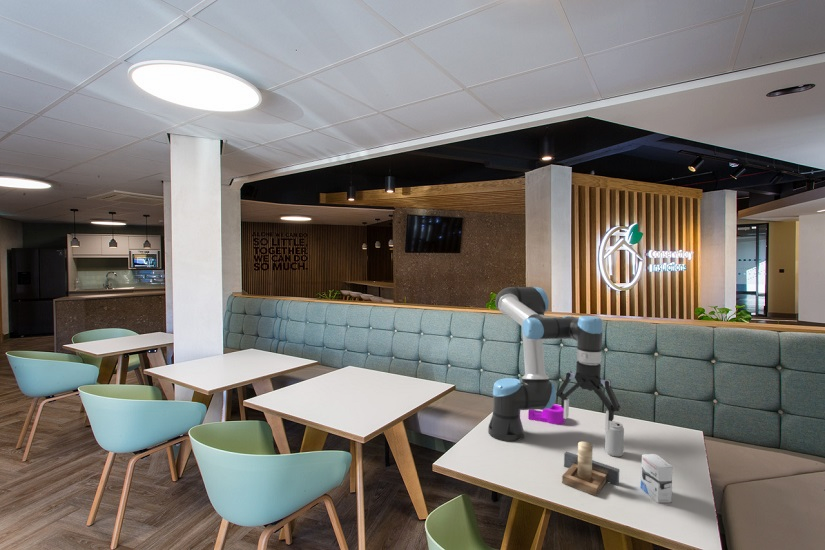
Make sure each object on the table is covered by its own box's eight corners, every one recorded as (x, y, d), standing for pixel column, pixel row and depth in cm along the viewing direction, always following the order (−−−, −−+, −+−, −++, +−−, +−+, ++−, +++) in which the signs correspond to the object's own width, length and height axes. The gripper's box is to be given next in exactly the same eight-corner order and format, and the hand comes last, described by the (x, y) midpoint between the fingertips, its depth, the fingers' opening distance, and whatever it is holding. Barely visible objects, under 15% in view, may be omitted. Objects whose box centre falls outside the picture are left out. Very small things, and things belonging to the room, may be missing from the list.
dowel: (575, 479, 134) (576, 444, 133) (579, 473, 137) (580, 440, 137) (589, 484, 131) (590, 449, 130) (593, 478, 134) (594, 444, 134)
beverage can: (625, 458, 151) (626, 428, 150) (607, 456, 152) (608, 426, 151) (620, 450, 157) (621, 421, 156) (602, 448, 158) (603, 419, 158)
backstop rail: (564, 466, 144) (564, 453, 144) (566, 464, 146) (566, 451, 145) (617, 485, 132) (617, 471, 132) (618, 483, 134) (619, 469, 134)
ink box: (639, 487, 132) (640, 453, 131) (653, 487, 132) (654, 453, 131) (657, 503, 123) (658, 467, 123) (672, 502, 123) (673, 466, 123)
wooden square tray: (562, 482, 133) (562, 475, 133) (573, 469, 142) (573, 463, 141) (596, 496, 126) (596, 488, 126) (606, 481, 134) (606, 474, 134)
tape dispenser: (564, 418, 189) (564, 405, 188) (564, 426, 179) (564, 413, 179) (530, 412, 194) (530, 400, 194) (528, 420, 185) (528, 407, 185)
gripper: (548, 357, 138) (546, 416, 139) (626, 372, 121) (623, 438, 122) (556, 353, 143) (554, 409, 144) (632, 367, 127) (629, 430, 128)
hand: (586, 423), depth 133 cm, fingers open, 13 cm apart
